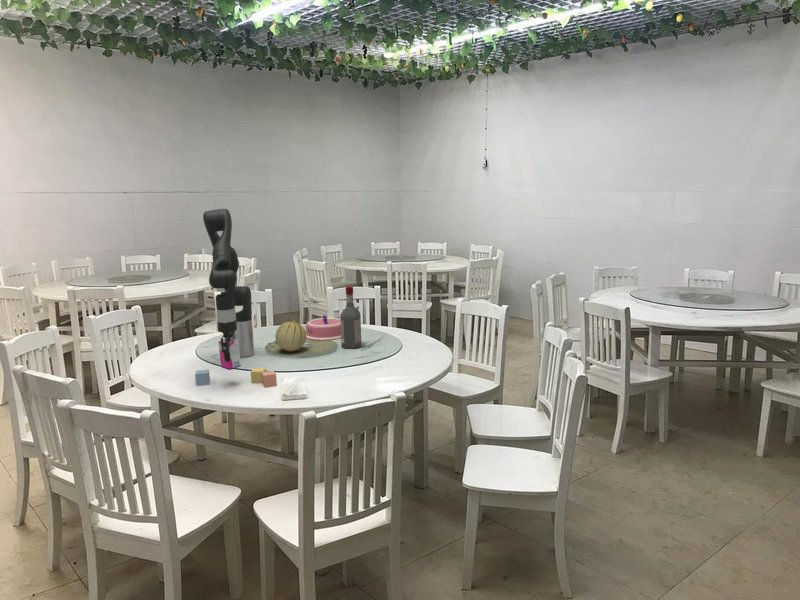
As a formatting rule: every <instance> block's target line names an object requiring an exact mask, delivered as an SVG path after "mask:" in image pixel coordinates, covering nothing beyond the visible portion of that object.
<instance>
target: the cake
mask: <svg viewBox="0 0 800 600" xmlns="http://www.w3.org/2000/svg"><path fill="white" fill-rule="evenodd" d="M305 331H306V340H310V341H319V342H320V341H322V342H324V341H335V340H339V339H340V340H341V324H340V317H339V318H337V317H327V314H323V315H322V317H319V318H315V319H311V320H309V321H307V322H306V324H305Z"/></svg>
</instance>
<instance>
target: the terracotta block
mask: <svg viewBox="0 0 800 600" xmlns="http://www.w3.org/2000/svg"><path fill="white" fill-rule="evenodd" d="M261 374H262V383H261V384H262V386H263V387H264V388H270V387H277V385H278V383H277V373H276V372H275V370H268V371H267V370H266V372H261Z"/></svg>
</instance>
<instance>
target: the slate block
mask: <svg viewBox="0 0 800 600" xmlns="http://www.w3.org/2000/svg"><path fill="white" fill-rule="evenodd" d="M194 376H195V377H194V379H195V385H196V387H198V385H199V386H208V385H210V382H211V379H210V378H211V377H210V369H201V370H200V369H199V370H196V371H195V374H194Z"/></svg>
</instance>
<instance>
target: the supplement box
mask: <svg viewBox="0 0 800 600" xmlns="http://www.w3.org/2000/svg"><path fill="white" fill-rule="evenodd" d="M228 344H230V342H228ZM218 349H219V351H218V352H219V357H220V367H221V368H222V369H224V370H227V371H232V370H234V369H237V368H240V367H241V368H242V365H241V357H240V354H239V344H238V340H236V339H233V340H232V345H231V347H230V361H228V362H225V360H224V353H223V352H222V347H221V340H219V341H218ZM225 349H227V347H225Z"/></svg>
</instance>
